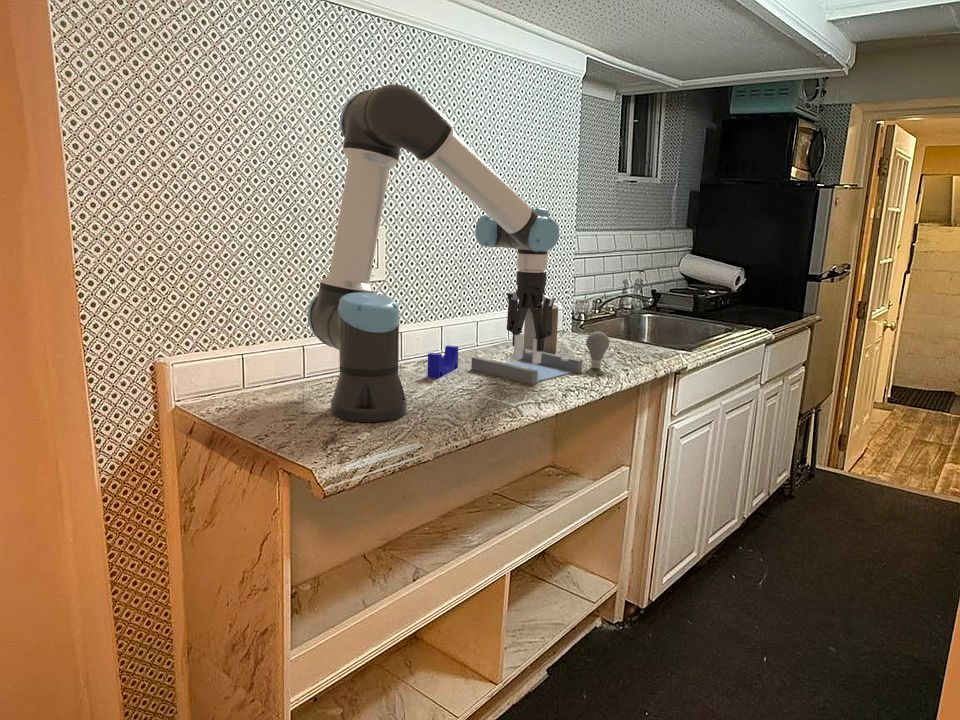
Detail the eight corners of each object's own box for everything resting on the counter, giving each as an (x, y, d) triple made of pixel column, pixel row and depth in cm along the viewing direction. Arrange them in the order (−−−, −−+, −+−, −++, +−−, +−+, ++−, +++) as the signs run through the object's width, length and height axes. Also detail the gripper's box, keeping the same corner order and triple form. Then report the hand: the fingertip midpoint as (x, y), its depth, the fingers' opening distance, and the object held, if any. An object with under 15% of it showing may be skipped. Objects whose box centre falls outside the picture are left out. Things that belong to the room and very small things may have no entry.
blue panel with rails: (532, 384, 163) (532, 371, 162) (471, 369, 176) (471, 357, 175) (581, 372, 177) (582, 360, 177) (522, 358, 191) (522, 347, 190)
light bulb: (589, 371, 179) (591, 333, 177) (581, 365, 185) (583, 329, 182) (610, 370, 180) (613, 333, 178) (602, 365, 186) (605, 329, 184)
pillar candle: (551, 348, 206) (554, 299, 203) (559, 355, 197) (562, 303, 194) (519, 348, 205) (522, 298, 202) (526, 355, 196) (529, 303, 192)
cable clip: (441, 367, 178) (442, 344, 177) (457, 369, 176) (458, 346, 175) (421, 377, 167) (422, 353, 166) (438, 379, 165) (439, 355, 164)
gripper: (570, 273, 168) (564, 365, 173) (513, 267, 180) (509, 353, 185) (552, 274, 162) (546, 369, 167) (494, 268, 174) (490, 357, 179)
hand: (527, 361), depth 176 cm, fingers open, 5 cm apart
